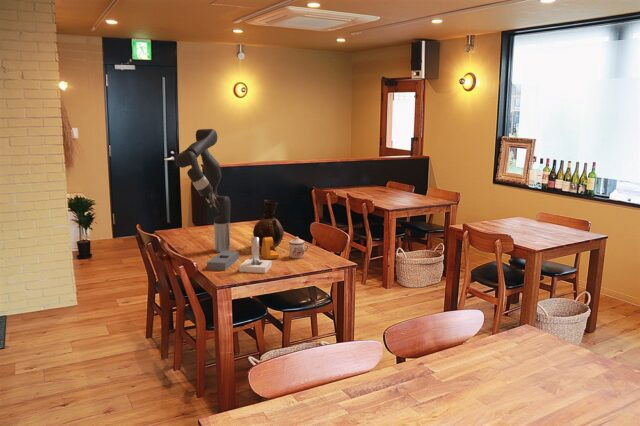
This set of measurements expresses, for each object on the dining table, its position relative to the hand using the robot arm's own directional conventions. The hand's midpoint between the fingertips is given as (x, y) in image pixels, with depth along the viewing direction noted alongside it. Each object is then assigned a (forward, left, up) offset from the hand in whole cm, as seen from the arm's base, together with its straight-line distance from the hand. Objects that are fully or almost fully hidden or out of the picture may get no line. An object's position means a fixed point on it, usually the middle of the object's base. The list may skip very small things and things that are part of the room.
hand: (217, 209), depth 306 cm
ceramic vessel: (-41, +18, -31) cm, 54 cm away
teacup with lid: (-26, +40, -31) cm, 57 cm away
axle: (+3, +21, -31) cm, 38 cm away
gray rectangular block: (-3, +2, -31) cm, 31 cm away
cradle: (+3, +22, -31) cm, 38 cm away
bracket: (-21, +24, -31) cm, 44 cm away
